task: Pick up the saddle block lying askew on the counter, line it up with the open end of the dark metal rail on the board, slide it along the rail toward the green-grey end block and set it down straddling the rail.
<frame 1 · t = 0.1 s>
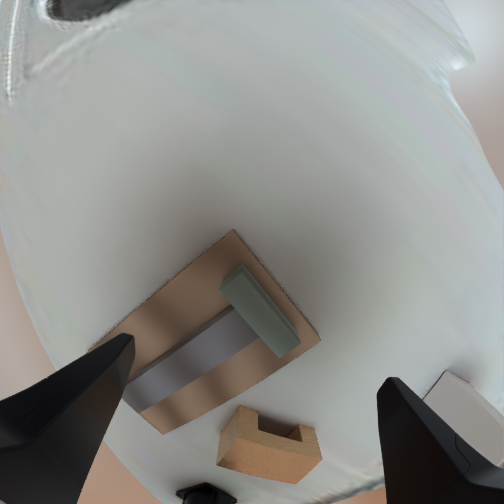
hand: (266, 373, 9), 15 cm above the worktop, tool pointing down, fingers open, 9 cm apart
saddle: (267, 432, 27), on the worktop
rail board: (190, 349, 25), on the worktop
milk carton: (440, 398, 27), on the worktop
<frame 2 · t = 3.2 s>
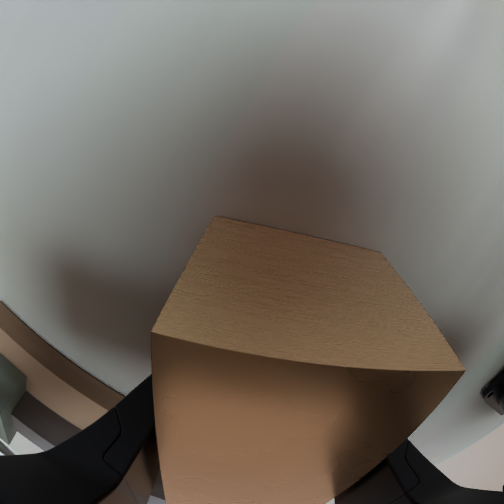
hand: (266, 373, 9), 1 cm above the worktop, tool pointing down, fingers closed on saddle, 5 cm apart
saddle: (266, 352, 10), on the worktop, touching gripper
rail board: (126, 445, 14), on the worktop
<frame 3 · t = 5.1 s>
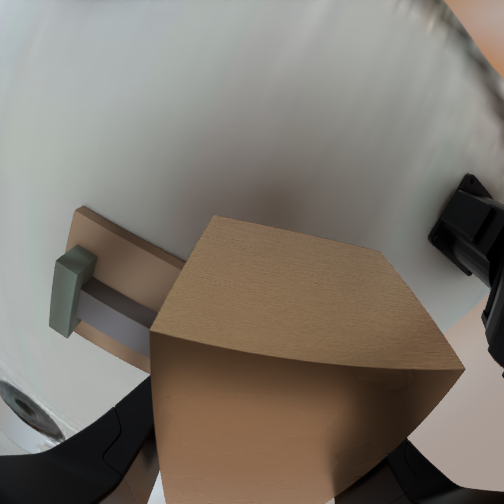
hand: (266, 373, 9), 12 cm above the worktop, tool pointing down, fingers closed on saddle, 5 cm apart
saddle: (265, 351, 10), point 11 cm above the worktop, touching gripper
rail board: (166, 322, 23), on the worktop
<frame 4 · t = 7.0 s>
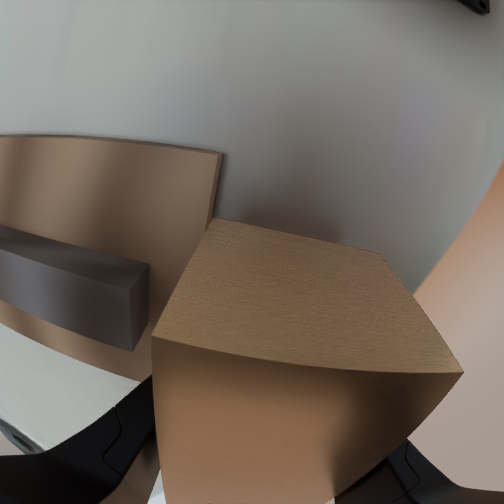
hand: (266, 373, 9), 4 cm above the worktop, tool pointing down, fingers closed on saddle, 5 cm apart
saddle: (265, 353, 10), point 3 cm above the worktop, touching gripper
rail board: (29, 246, 12), on the worktop
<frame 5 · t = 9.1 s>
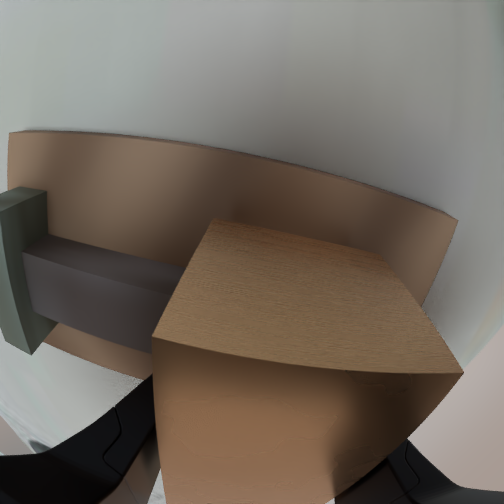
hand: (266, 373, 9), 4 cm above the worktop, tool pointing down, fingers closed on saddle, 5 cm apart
saddle: (265, 353, 10), point 3 cm above the worktop, touching gripper
rail board: (193, 286, 13), on the worktop
when the fingers open (4 cm above the worktop, at t = 10.8 s): saddle drops 2 cm, resting on rail board.
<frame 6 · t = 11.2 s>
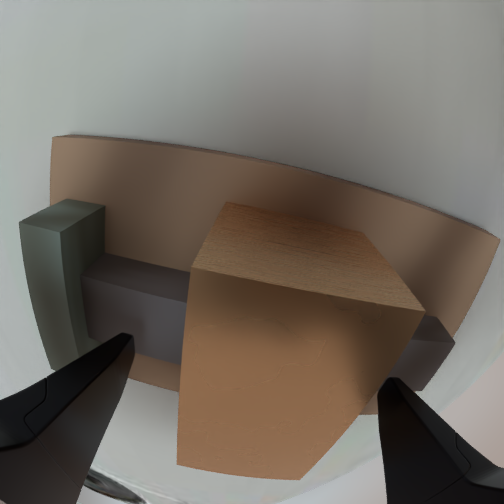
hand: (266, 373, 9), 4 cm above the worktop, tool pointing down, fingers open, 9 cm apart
saddle: (267, 321, 12), point 1 cm above the worktop, touching rail board
rail board: (266, 304, 13), on the worktop
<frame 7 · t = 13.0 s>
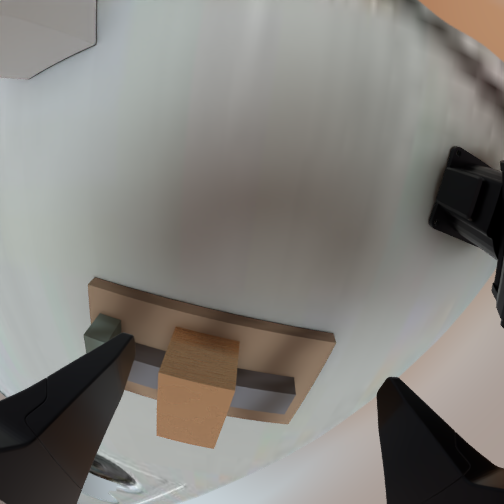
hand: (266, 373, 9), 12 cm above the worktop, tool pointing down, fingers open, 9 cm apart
saddle: (199, 372, 23), point 1 cm above the worktop, touching rail board
rail board: (200, 362, 24), on the worktop
milk carton: (61, 27, 13), on the worktop
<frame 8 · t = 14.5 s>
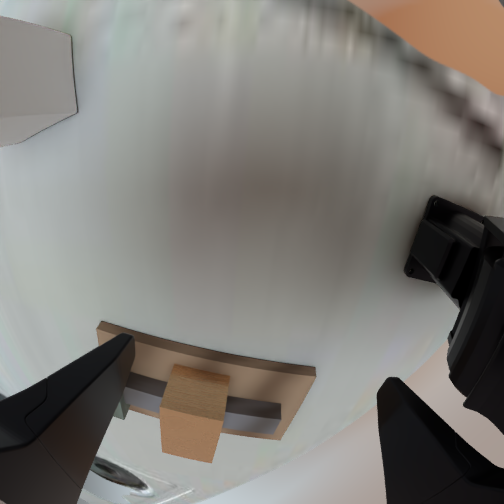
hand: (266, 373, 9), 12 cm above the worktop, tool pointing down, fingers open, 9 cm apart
saddle: (197, 398, 26), point 1 cm above the worktop, touching rail board
rail board: (199, 389, 27), on the worktop
milk carton: (44, 89, 16), on the worktop
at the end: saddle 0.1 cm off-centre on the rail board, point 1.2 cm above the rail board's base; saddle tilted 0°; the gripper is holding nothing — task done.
